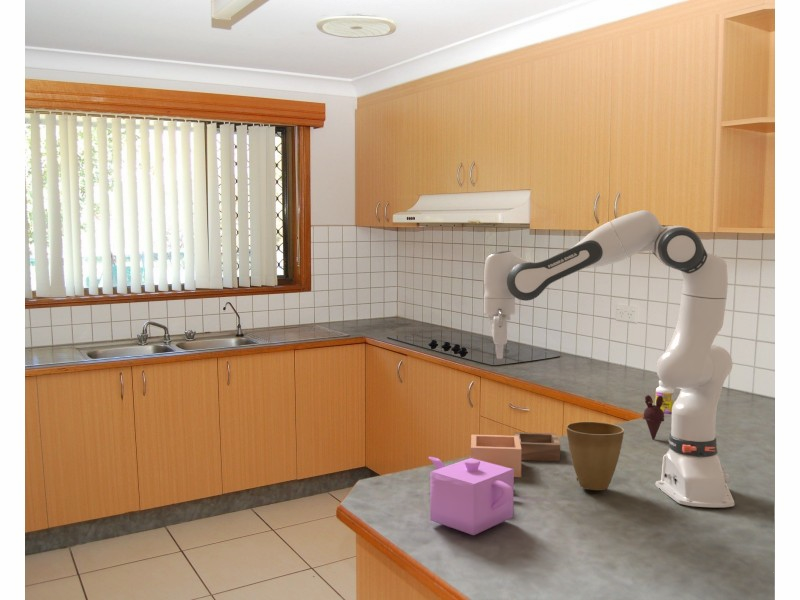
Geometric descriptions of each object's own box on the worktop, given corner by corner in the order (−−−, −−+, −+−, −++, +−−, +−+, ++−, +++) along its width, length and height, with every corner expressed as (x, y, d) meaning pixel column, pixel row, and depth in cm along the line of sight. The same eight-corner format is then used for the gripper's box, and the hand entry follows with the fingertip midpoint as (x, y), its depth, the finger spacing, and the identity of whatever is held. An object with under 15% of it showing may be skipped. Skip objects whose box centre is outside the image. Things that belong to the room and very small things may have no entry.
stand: (521, 477, 199) (521, 449, 198) (470, 475, 200) (470, 447, 200) (518, 462, 213) (518, 435, 212) (471, 460, 214) (471, 434, 213)
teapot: (448, 496, 184) (448, 443, 183) (530, 522, 166) (531, 463, 165) (408, 512, 173) (408, 455, 172) (491, 541, 156) (492, 479, 155)
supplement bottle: (652, 414, 273) (653, 381, 272) (658, 411, 278) (659, 378, 277) (669, 417, 269) (670, 383, 268) (676, 413, 274) (677, 380, 273)
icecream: (644, 442, 234) (645, 397, 233) (640, 436, 241) (641, 392, 240) (666, 443, 233) (667, 397, 232) (661, 437, 240) (662, 393, 239)
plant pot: (634, 489, 189) (636, 429, 188) (594, 499, 181) (595, 437, 180) (593, 473, 202) (594, 418, 201) (553, 482, 194) (554, 424, 193)
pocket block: (560, 461, 214) (560, 444, 213) (516, 459, 215) (516, 443, 215) (555, 448, 227) (555, 433, 226) (514, 447, 228) (514, 432, 228)
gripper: (512, 311, 193) (512, 361, 194) (508, 305, 213) (508, 351, 214) (488, 311, 193) (488, 361, 194) (487, 305, 214) (487, 350, 215)
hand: (499, 355), depth 204 cm, fingers open, 8 cm apart
